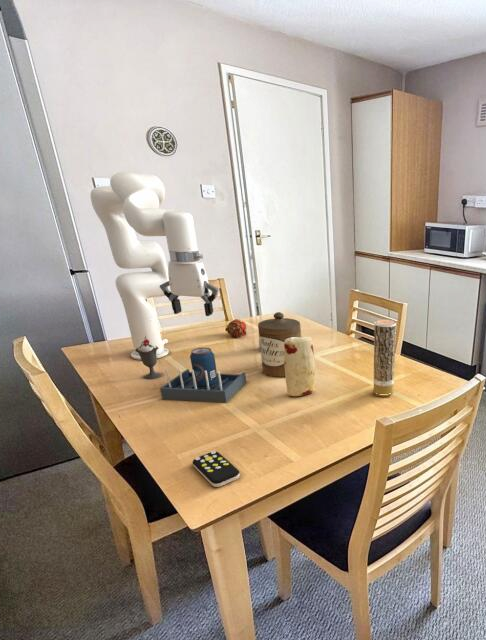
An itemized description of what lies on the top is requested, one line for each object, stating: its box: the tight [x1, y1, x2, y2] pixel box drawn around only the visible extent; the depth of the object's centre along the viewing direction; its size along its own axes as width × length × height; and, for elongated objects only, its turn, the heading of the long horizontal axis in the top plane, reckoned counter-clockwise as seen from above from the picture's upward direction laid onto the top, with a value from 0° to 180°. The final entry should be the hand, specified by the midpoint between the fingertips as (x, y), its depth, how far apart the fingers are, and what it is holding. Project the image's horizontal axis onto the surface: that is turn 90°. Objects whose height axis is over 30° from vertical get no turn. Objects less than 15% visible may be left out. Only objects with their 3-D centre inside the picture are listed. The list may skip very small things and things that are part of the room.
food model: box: [284, 336, 316, 397], centre depth 132 cm, size 10×7×20 cm
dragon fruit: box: [225, 318, 247, 338], centre depth 186 cm, size 8×8×12 cm
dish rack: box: [159, 368, 247, 403], centre depth 133 cm, size 16×20×10 cm
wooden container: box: [257, 311, 302, 378], centre depth 150 cm, size 15×15×22 cm
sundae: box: [134, 336, 162, 380], centre depth 139 cm, size 7×7×15 cm
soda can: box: [189, 347, 218, 388], centre depth 132 cm, size 7×7×12 cm
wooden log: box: [373, 319, 397, 398], centre depth 135 cm, size 7×7×25 cm
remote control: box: [192, 450, 241, 488], centre depth 95 cm, size 6×13×2 cm, turn 48°
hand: (193, 314), depth 126 cm, fingers open, 9 cm apart
